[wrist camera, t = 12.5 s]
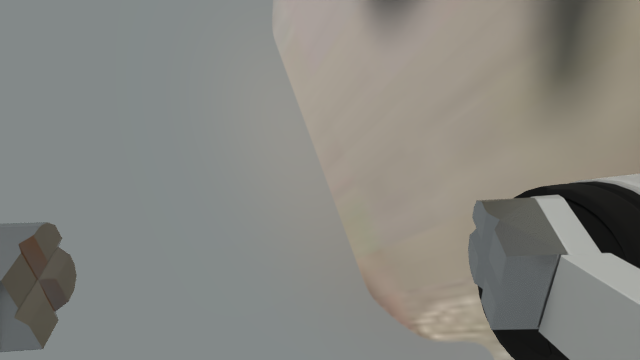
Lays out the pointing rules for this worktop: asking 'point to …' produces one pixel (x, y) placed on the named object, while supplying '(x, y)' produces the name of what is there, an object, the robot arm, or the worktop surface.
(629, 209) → the travel mug
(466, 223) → the worktop surface
